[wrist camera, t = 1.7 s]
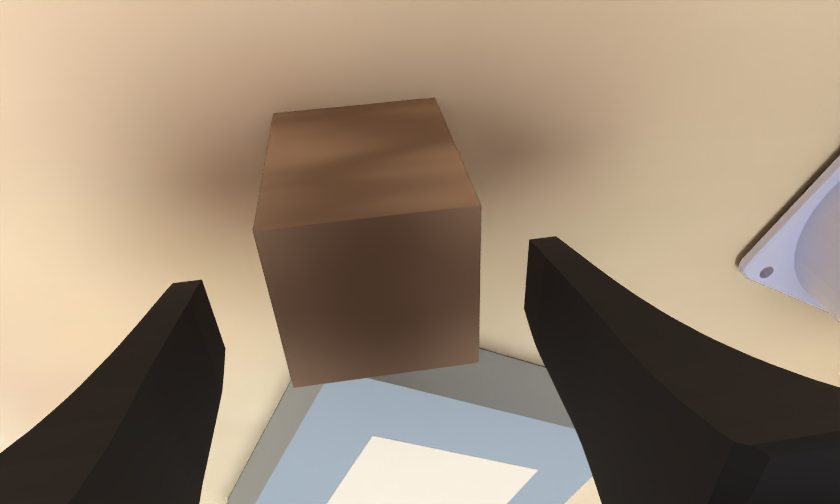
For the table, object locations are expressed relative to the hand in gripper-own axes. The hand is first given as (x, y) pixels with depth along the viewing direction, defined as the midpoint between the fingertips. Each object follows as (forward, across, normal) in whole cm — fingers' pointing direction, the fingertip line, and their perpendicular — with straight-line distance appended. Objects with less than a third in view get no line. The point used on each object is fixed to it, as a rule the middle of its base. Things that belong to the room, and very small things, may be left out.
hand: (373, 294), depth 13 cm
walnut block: (+6, 0, 0) cm, 6 cm away
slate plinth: (+6, -1, +13) cm, 14 cm away
